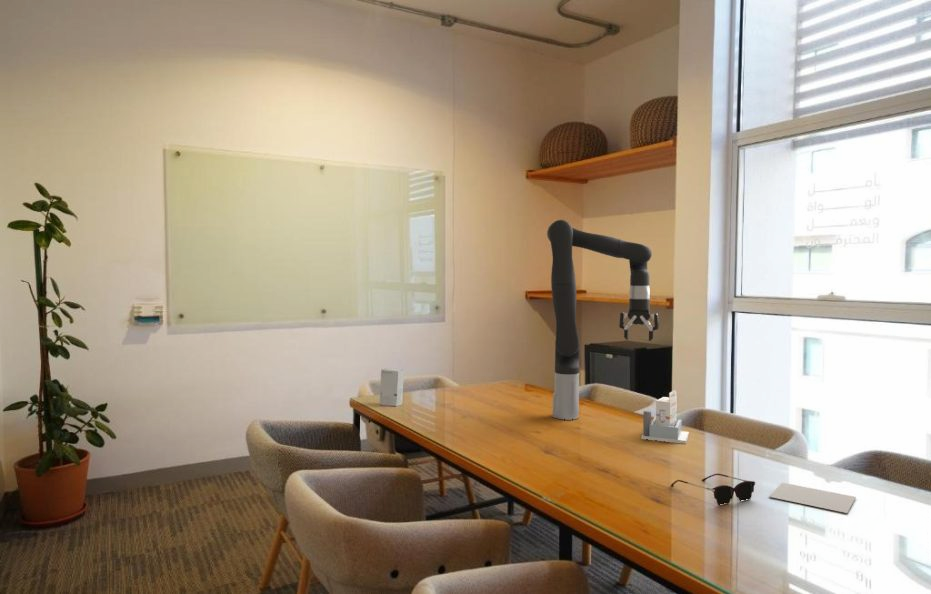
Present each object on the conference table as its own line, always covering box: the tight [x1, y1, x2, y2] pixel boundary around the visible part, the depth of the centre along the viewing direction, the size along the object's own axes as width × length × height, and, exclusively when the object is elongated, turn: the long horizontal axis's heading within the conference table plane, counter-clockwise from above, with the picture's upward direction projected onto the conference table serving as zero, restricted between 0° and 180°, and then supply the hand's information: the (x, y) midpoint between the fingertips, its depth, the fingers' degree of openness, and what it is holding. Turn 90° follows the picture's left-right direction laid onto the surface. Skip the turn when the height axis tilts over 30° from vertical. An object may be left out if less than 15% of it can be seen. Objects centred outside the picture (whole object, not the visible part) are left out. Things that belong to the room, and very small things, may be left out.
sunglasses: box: [670, 473, 756, 506], centre depth 158 cm, size 14×16×5 cm
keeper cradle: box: [641, 410, 690, 445], centre depth 213 cm, size 14×13×9 cm
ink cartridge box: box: [655, 389, 678, 427], centre depth 214 cm, size 9×5×15 cm, turn 147°
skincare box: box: [379, 367, 405, 407], centre depth 262 cm, size 8×6×15 cm
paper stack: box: [768, 482, 856, 514], centre depth 156 cm, size 23×25×1 cm
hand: (638, 340), depth 239 cm, fingers open, 8 cm apart
